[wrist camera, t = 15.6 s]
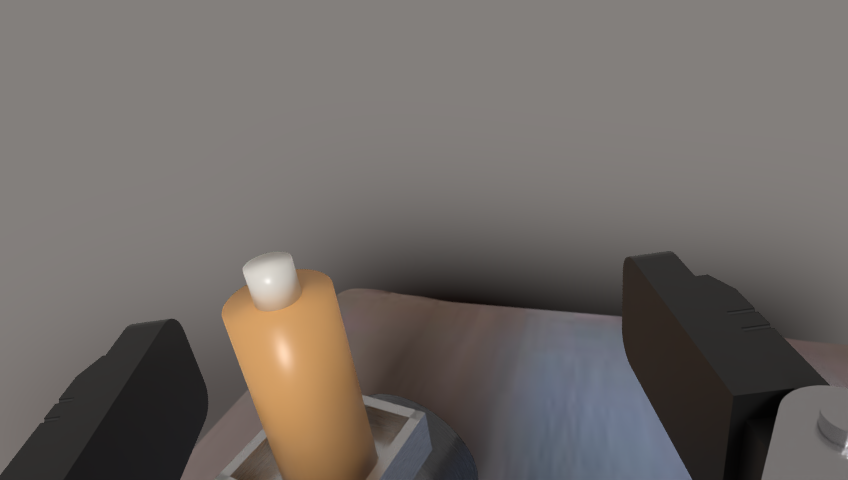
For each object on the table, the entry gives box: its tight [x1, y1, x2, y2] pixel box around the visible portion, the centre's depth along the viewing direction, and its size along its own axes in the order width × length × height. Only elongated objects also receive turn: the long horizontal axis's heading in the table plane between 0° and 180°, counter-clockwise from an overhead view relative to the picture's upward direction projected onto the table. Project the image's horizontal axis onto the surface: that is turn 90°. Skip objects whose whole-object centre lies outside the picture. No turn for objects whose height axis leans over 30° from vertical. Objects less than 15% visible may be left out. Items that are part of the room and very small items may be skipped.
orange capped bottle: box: [222, 251, 378, 480], centre depth 31 cm, size 6×6×14 cm
